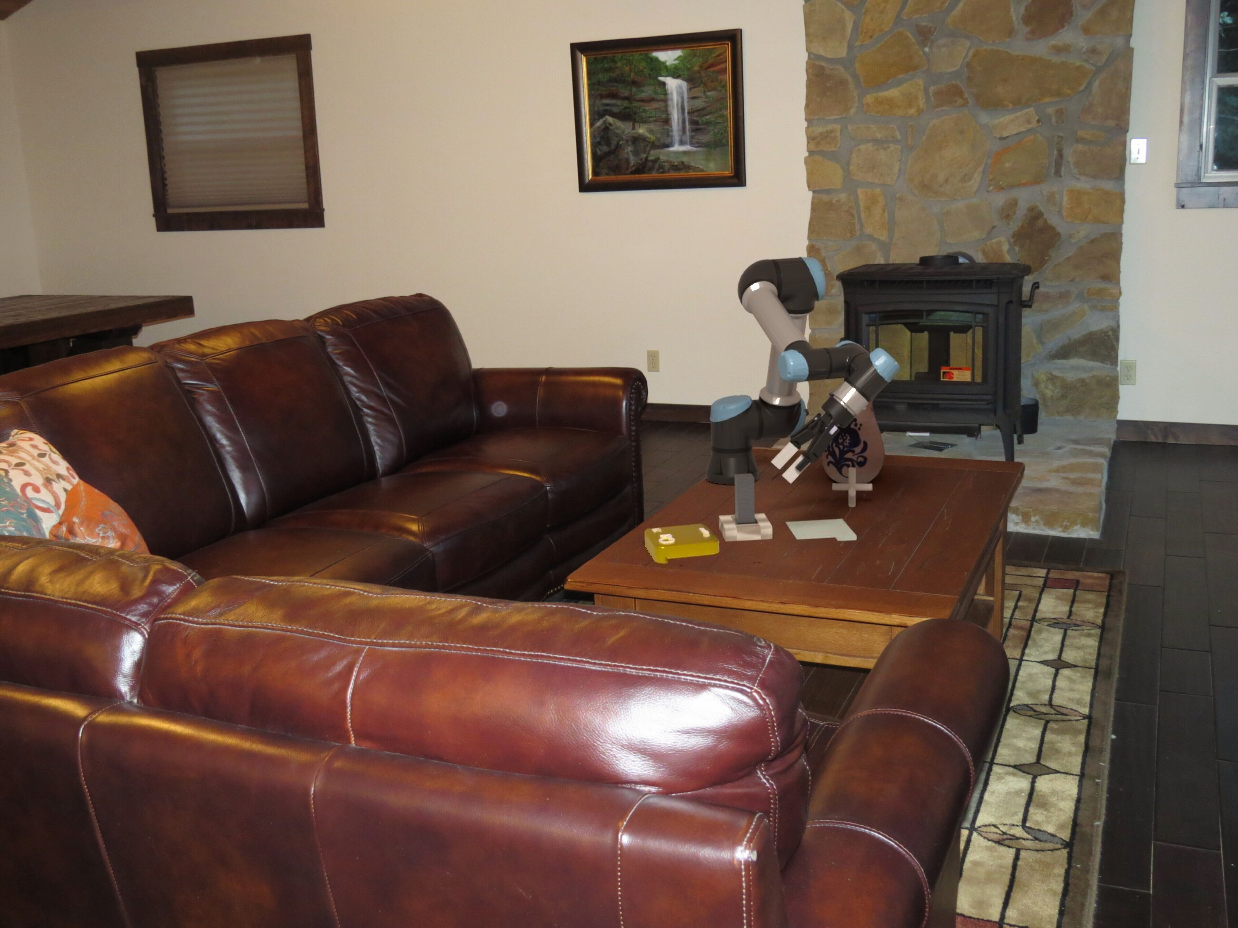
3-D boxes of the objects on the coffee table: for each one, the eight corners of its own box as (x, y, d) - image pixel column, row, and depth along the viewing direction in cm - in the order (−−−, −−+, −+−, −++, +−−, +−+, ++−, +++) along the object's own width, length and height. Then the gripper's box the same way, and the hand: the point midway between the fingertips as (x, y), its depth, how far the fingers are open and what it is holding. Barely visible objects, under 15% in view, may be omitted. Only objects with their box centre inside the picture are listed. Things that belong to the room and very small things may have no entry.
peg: (735, 530, 270) (734, 474, 267) (752, 529, 270) (751, 473, 267) (738, 535, 266) (737, 478, 263) (754, 534, 266) (754, 477, 263)
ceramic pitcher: (814, 487, 309) (814, 397, 303) (830, 468, 328) (830, 384, 322) (878, 491, 303) (879, 399, 297) (891, 472, 321) (893, 385, 316)
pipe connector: (872, 511, 284) (872, 473, 282) (831, 511, 286) (832, 473, 284) (871, 500, 294) (872, 463, 291) (832, 500, 296) (832, 463, 293)
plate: (785, 525, 276) (785, 521, 275) (842, 522, 276) (842, 518, 276) (796, 543, 262) (796, 539, 262) (856, 539, 262) (856, 535, 262)
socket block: (719, 531, 273) (718, 515, 273) (764, 528, 274) (764, 513, 273) (725, 545, 263) (725, 528, 262) (772, 542, 263) (772, 526, 262)
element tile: (721, 559, 254) (721, 539, 253) (656, 565, 252) (655, 545, 251) (705, 540, 269) (704, 520, 268) (643, 546, 266) (642, 526, 265)
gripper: (869, 427, 250) (803, 496, 253) (841, 406, 274) (781, 469, 277) (845, 405, 249) (779, 474, 251) (820, 386, 273) (759, 450, 276)
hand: (780, 472), depth 264 cm, fingers open, 13 cm apart
